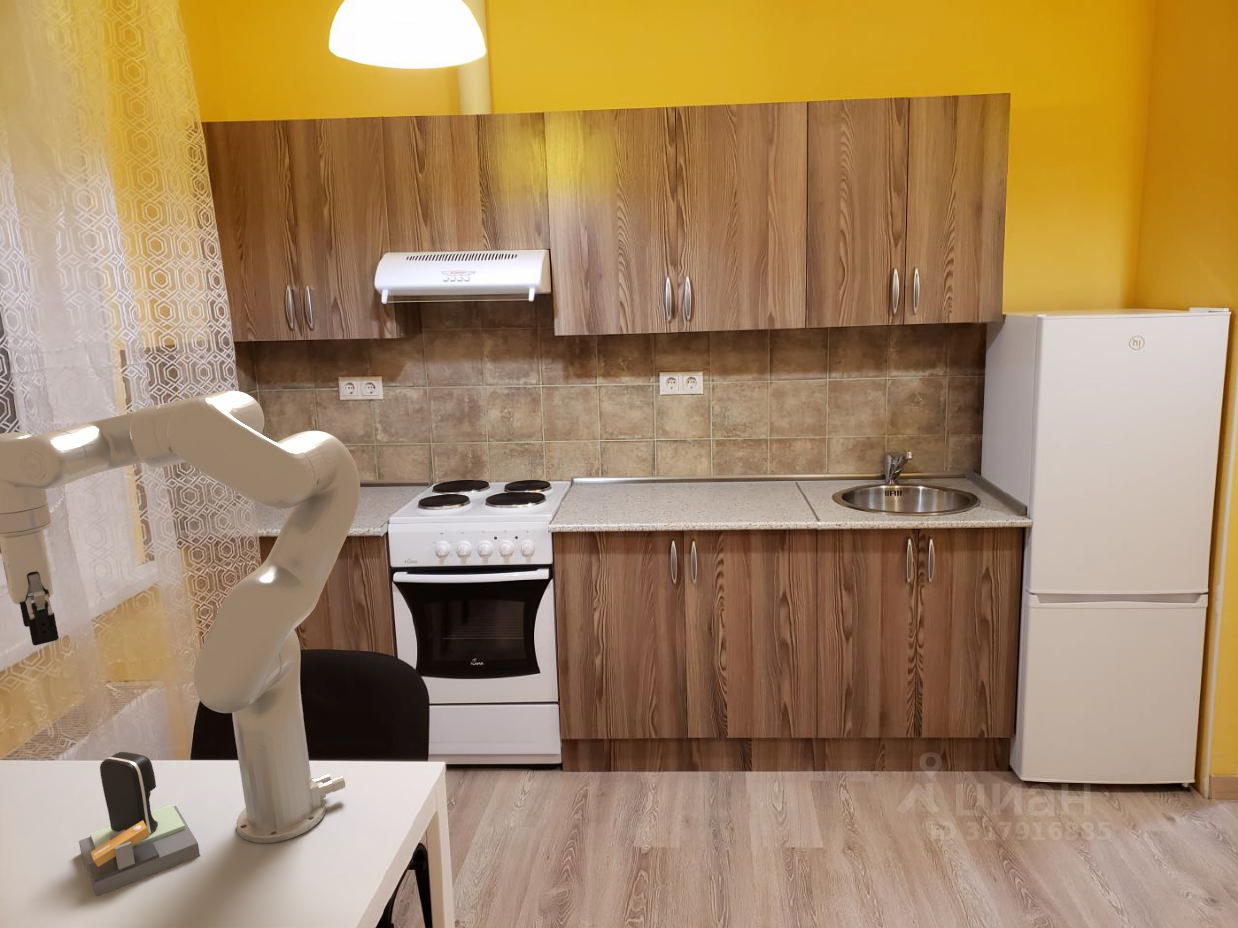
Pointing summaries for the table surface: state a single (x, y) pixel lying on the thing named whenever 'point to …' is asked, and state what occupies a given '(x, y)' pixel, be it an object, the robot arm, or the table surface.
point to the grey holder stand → (140, 851)
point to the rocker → (119, 842)
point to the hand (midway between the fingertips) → (41, 632)
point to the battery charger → (128, 790)
